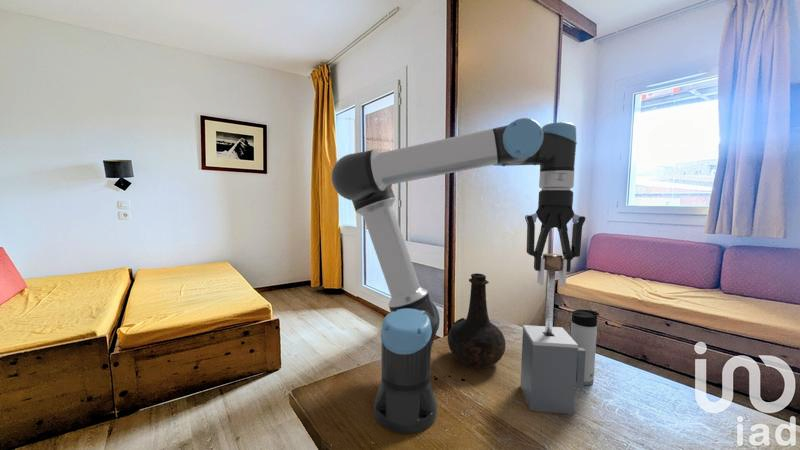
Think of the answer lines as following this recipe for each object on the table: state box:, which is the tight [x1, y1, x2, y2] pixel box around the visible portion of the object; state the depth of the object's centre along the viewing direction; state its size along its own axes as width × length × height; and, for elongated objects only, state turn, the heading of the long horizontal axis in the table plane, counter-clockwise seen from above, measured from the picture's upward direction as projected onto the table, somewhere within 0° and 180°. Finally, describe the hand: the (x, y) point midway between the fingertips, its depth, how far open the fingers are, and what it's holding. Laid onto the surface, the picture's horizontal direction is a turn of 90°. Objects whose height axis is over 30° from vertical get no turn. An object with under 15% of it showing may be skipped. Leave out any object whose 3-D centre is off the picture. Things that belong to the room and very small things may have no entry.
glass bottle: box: [447, 272, 507, 369], centre depth 99 cm, size 18×18×28 cm
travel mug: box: [570, 309, 600, 386], centre depth 90 cm, size 6×7×20 cm
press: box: [520, 324, 586, 415], centre depth 80 cm, size 14×10×17 cm
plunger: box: [542, 253, 564, 336], centre depth 79 cm, size 4×4×24 cm
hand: (551, 283), depth 79 cm, fingers closed on plunger, 4 cm apart
